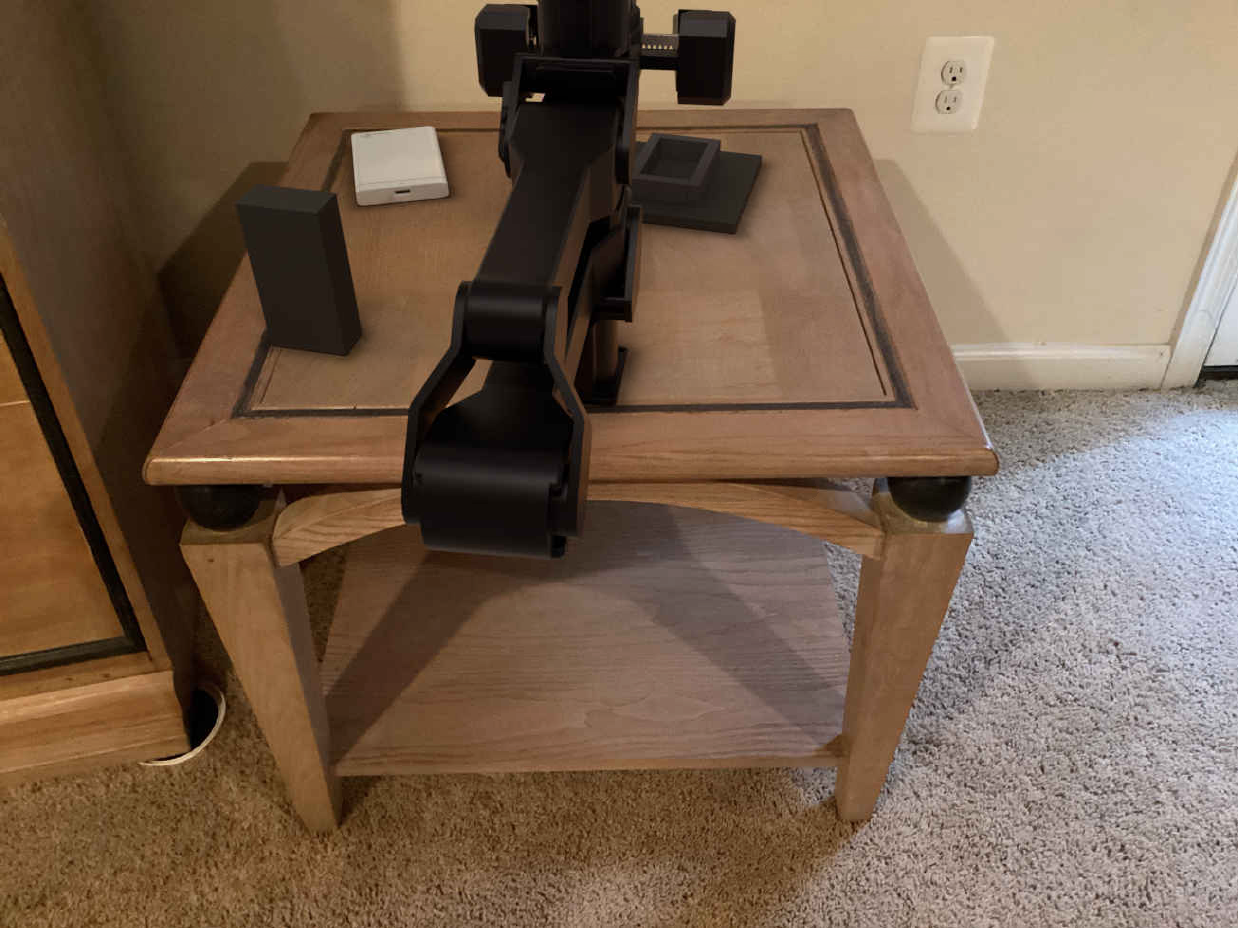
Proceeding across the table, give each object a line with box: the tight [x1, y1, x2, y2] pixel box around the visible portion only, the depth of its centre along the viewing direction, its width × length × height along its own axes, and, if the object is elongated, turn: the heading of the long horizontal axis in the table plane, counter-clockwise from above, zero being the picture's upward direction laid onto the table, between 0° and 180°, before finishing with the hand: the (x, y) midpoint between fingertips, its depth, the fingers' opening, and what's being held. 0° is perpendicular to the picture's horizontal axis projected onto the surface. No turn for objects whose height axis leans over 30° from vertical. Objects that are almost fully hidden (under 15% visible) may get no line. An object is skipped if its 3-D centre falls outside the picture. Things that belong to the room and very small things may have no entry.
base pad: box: [622, 131, 763, 235], centre depth 97 cm, size 14×14×3 cm
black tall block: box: [234, 183, 363, 357], centre depth 76 cm, size 3×6×12 cm, turn 77°
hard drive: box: [350, 125, 450, 206], centre depth 100 cm, size 2×8×12 cm
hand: (618, 18), depth 84 cm, fingers open, 9 cm apart
